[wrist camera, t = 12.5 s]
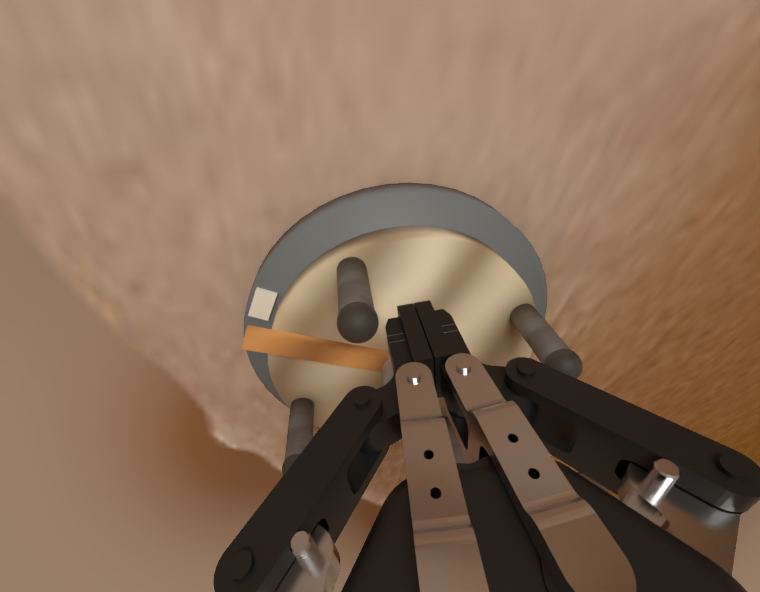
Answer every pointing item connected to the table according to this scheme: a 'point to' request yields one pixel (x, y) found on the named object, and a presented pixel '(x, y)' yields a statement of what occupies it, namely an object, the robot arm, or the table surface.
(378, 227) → the dial base
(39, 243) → the table surface
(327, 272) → the capstan dial
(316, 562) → the robot arm
